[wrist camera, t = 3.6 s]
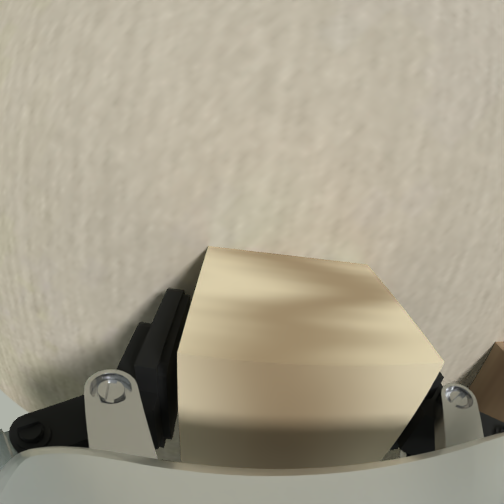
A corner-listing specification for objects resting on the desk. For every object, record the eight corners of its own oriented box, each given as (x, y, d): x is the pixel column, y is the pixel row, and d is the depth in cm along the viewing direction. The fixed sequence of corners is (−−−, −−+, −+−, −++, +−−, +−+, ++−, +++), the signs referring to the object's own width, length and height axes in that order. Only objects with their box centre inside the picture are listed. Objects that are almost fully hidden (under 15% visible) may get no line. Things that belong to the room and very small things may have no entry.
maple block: (366, 263, 11) (444, 362, 6) (328, 380, 13) (359, 486, 8) (208, 245, 10) (177, 352, 5) (199, 371, 12) (182, 486, 7)
